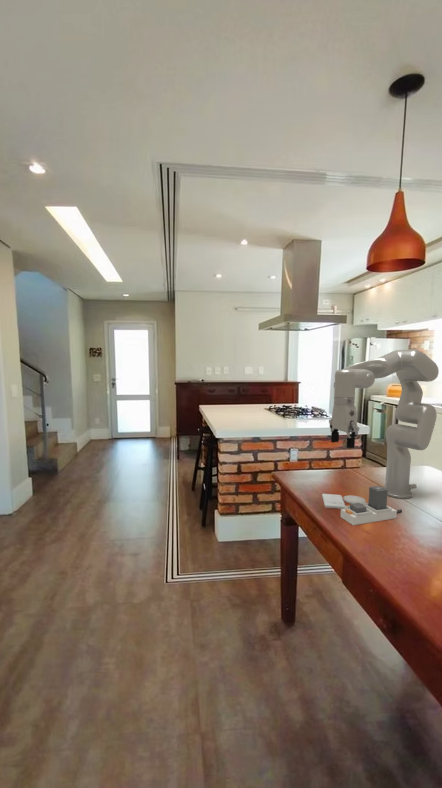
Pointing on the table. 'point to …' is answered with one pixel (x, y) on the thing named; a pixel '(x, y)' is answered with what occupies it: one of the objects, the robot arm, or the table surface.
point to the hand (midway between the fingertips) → (342, 444)
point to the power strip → (366, 514)
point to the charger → (377, 498)
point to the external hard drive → (333, 501)
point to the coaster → (354, 499)
